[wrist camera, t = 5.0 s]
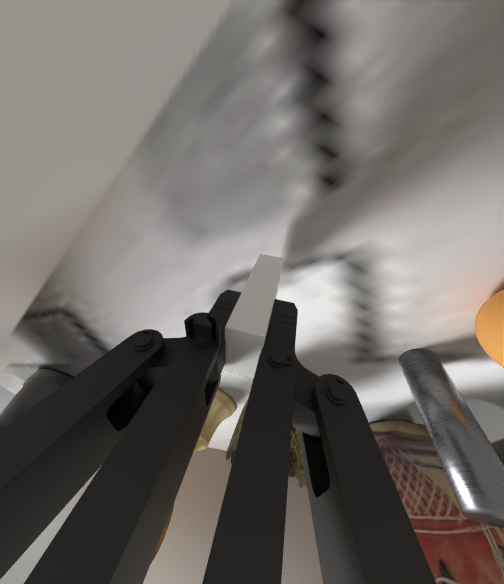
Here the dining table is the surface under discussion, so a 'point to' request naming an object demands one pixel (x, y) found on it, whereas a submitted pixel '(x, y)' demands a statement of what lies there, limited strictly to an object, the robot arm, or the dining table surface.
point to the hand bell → (207, 434)
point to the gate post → (457, 439)
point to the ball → (492, 327)
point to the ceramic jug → (438, 509)
